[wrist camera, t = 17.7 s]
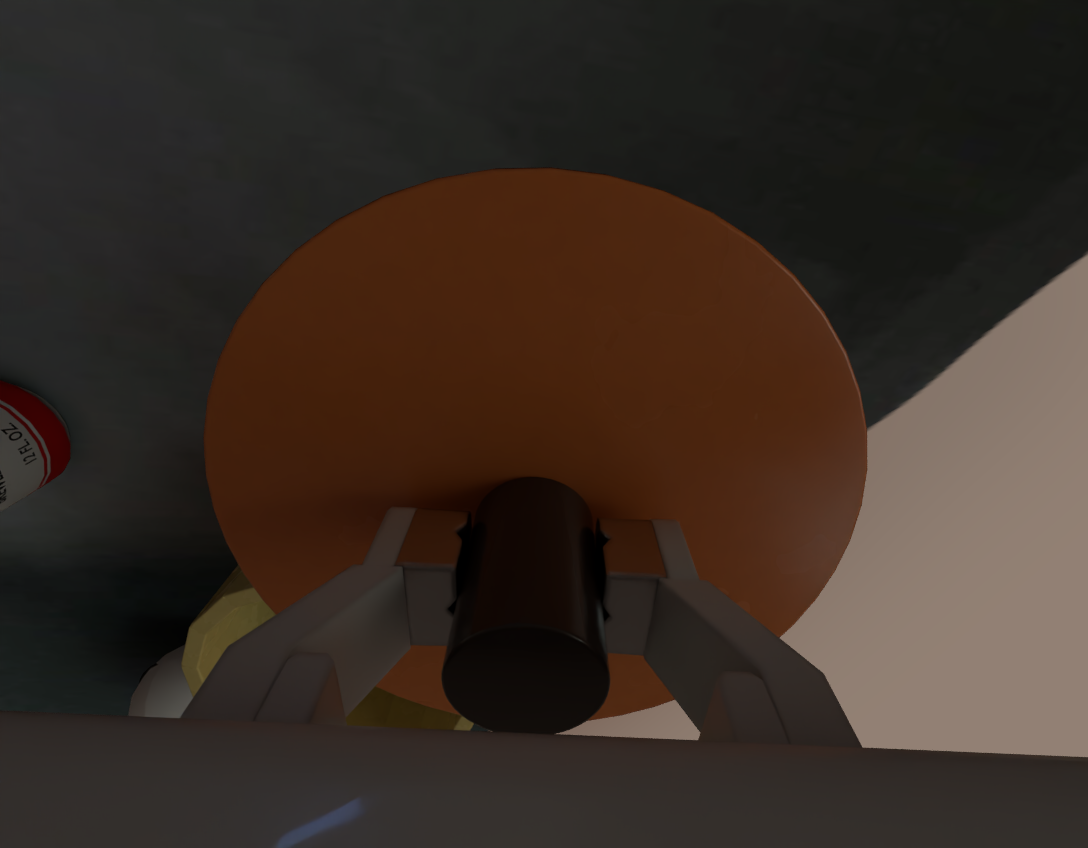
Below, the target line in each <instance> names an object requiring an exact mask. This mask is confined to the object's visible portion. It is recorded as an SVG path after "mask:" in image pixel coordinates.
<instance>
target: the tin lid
mask: <svg viewBox="0 0 1088 848" xmlns="http://www.w3.org/2000/svg"><path fill="white" fill-rule="evenodd" d="M204 453H205V469H206V477H207V482H208V486H209V491H210V495H211V500H212V504H213V509H214V512H215V514H216V517H217V520H218V522H219V525H220V527H221V530H222V533H223V535H224V538H225V540H226V543H227V545H228V547H229V548H230V550H231V552H232V554H233V556H234V557H235V559H236V561H237V563H238V565H239V567H240V568H241V570H242V572H243V574H244V575H245V576H246V578H247V579H248V580H249V582H250V583H251V585H252V586H253V587H254V589H255V590H256V591H257V593H258V594H259V596H260V597H261V598H262V600H263V601H264V602H265V603H266V604H267V605H268V606H269V607H270V608H271V610H272V611H273V612H274V613H275V614H276V615H277V614H278V613H280V612H281V611H283V610H284V609H286V608H287V607H289V606H290V605H292V604H293V603H295V602H297V601H298V600H300V599H301V598H303V597H304V596H306V595H307V594H309V593H310V592H312V591H314V590H315V589H317V588H318V587H320V586H321V585H323V584H324V583H326V582H327V581H329V580H330V579H332V578H334V577H335V576H337V575H338V574H340V573H341V572H343V571H344V570H346V569H347V568H349V567H350V566H352V565H354V564H356V565H362V563H363V561H364V559H365V557H366V555H367V552H368V550H369V548H370V546H371V544H372V542H373V540H374V538H375V536H376V533H377V531H378V529H379V527H380V525H381V523H382V521H383V519H384V517H385V514H386V512H387V511H388V510H389V509H390V508H391V507H411V508H429V509H444V510H458V511H470V512H471V518H472V532H471V537H470V541H469V546H468V551H467V556H466V560H465V565H464V569H463V574H462V579H461V583H460V588H459V593H458V597H457V602H456V606H455V611H454V616H453V620H452V625H451V630H450V634H449V639H448V643H447V646H424V645H410V646H411V648H410V649H409V651H408V652H407V653H406V654H405V655H404V656H403V657H402V658H401V659H400V660H399V661H398V662H397V663H396V664H395V666H394V667H393V668H392V669H391V670H390V671H389V672H388V673H387V674H386V675H385V676H384V677H383V678H382V679H381V681H380V682H379V683H378V684H377V685H376V687H378V688H381V689H383V690H385V691H387V692H389V693H392V694H394V695H396V696H399V697H401V698H404V699H407V700H410V701H413V702H416V703H419V704H422V705H424V706H427V707H431V708H435V709H439V710H443V711H447V712H451V713H454V714H458V715H462V716H463V717H464V718H466V719H467V720H469V721H470V722H472V723H474V724H475V725H478V726H480V727H482V728H484V729H487V730H490V731H493V732H513V733H536V734H556V733H560V732H564V731H566V730H570V729H572V728H574V727H576V726H579V725H580V724H582V723H584V722H586V721H588V720H595V719H602V718H608V717H614V716H620V715H624V714H628V713H632V712H636V711H640V710H644V709H648V708H652V707H655V706H658V705H661V704H664V703H667V702H669V701H672V700H675V698H674V697H673V696H672V695H671V693H670V692H669V691H668V689H667V688H666V687H665V685H664V684H663V683H662V681H661V680H660V679H659V677H658V676H657V675H656V674H655V672H654V671H653V670H652V668H651V667H650V666H649V664H648V663H647V662H646V660H645V659H644V656H642V655H628V654H614V653H608V652H607V643H606V634H605V625H604V616H603V607H602V598H601V589H600V581H599V571H598V562H597V554H596V544H595V528H596V522H597V518H617V519H641V520H650V519H676V520H677V521H678V522H679V524H680V526H681V529H682V532H683V535H684V538H685V540H686V543H687V546H688V549H689V552H690V554H691V557H692V560H693V563H694V566H695V568H696V571H697V574H698V577H699V580H706V581H709V582H710V583H711V584H713V585H714V586H715V587H716V588H718V589H719V590H720V591H721V592H723V593H724V594H725V595H726V596H728V597H729V598H730V599H731V600H732V601H734V602H735V603H736V604H737V605H739V606H740V607H741V608H742V609H744V610H745V611H746V612H747V613H749V614H750V615H751V616H752V617H754V618H755V619H756V620H757V621H759V622H760V623H761V624H762V625H764V626H765V627H766V628H767V629H769V630H770V631H771V632H772V633H774V634H775V635H776V636H777V637H779V638H780V637H781V636H782V635H783V634H784V633H785V632H786V631H787V630H788V629H789V628H791V627H792V626H793V625H794V624H795V622H796V621H797V620H798V619H799V618H800V617H801V616H802V615H803V613H804V612H805V611H806V610H807V609H808V608H809V607H810V605H811V604H812V603H813V602H814V601H815V600H816V598H817V597H818V596H819V594H820V592H821V591H822V590H823V588H824V587H825V585H826V584H827V582H828V581H829V579H830V578H831V576H832V575H833V573H834V572H835V570H836V568H837V565H838V564H839V562H840V560H841V558H842V556H843V554H844V552H845V549H846V548H847V546H848V544H849V542H850V539H851V536H852V533H853V530H854V527H855V524H856V521H857V518H858V515H859V511H860V508H861V505H862V498H863V492H864V486H865V480H866V474H867V428H866V422H865V416H864V411H863V405H862V399H861V393H860V389H859V386H858V383H857V380H856V378H855V375H854V372H853V369H852V366H851V364H850V361H849V358H848V355H847V352H846V350H845V348H844V346H843V345H842V343H841V341H840V339H839V337H838V336H837V334H836V332H835V330H834V328H833V327H832V325H831V323H830V321H829V319H828V318H827V316H826V314H825V312H824V311H823V310H822V308H821V307H820V306H819V305H818V303H817V302H816V301H815V300H814V298H813V297H812V296H811V295H810V293H809V292H808V291H807V290H806V289H805V287H804V286H803V285H802V284H801V282H800V281H799V280H798V279H797V277H796V276H795V275H794V274H793V273H792V272H791V271H790V270H789V269H787V268H786V267H785V266H784V265H783V264H782V263H781V262H780V261H779V260H777V259H776V258H775V257H774V256H773V255H772V254H771V253H770V252H768V251H767V250H766V249H765V248H764V247H763V246H762V245H761V244H760V243H758V242H757V241H756V240H754V239H753V238H751V237H750V236H748V235H747V234H745V233H743V232H742V231H740V230H739V229H737V228H736V227H734V226H733V225H731V224H730V223H728V222H726V221H725V220H723V219H722V218H720V217H719V216H717V215H716V214H714V213H712V212H710V211H708V210H706V209H703V208H701V207H699V206H697V205H694V204H692V203H690V202H688V201H685V200H683V199H681V198H679V197H677V196H674V195H672V194H670V193H668V192H665V191H663V190H660V189H656V188H653V187H649V186H646V185H642V184H639V183H635V182H631V181H628V180H624V179H621V178H617V177H613V176H610V175H606V174H600V173H592V172H584V171H576V170H568V169H560V168H552V167H543V168H496V169H490V170H484V171H478V172H472V173H466V174H460V175H454V176H448V177H442V178H437V179H434V180H430V181H427V182H424V183H421V184H418V185H415V186H412V187H409V188H406V189H403V190H400V191H397V192H394V193H391V194H388V195H385V196H382V197H381V198H379V199H377V200H375V201H373V202H371V203H369V204H367V205H365V206H363V207H361V208H359V209H357V210H355V211H353V212H351V213H349V214H347V215H345V216H343V217H341V218H339V219H337V220H336V221H334V222H333V223H332V224H330V225H329V226H327V227H326V228H325V229H323V230H322V231H321V232H319V233H318V234H316V235H315V236H314V237H312V238H311V239H310V240H308V241H307V242H305V243H304V244H303V245H301V246H300V247H299V248H297V249H296V250H295V251H294V252H293V253H292V254H291V255H290V256H289V257H288V258H287V259H286V260H285V261H284V262H283V263H282V264H281V265H280V266H279V267H278V268H277V269H276V270H275V271H274V272H273V273H272V274H271V275H270V276H269V277H268V278H267V279H266V280H265V281H264V282H263V283H262V285H261V286H260V287H259V289H258V290H257V292H256V293H255V295H254V296H253V297H252V299H251V300H250V302H249V303H248V305H247V306H246V307H245V309H244V310H243V312H242V313H241V315H240V316H239V317H238V319H237V320H236V322H235V325H234V327H233V329H232V331H231V333H230V335H229V337H228V339H227V342H226V344H225V346H224V348H223V350H222V352H221V354H220V357H219V359H218V362H217V366H216V369H215V373H214V377H213V380H212V384H211V388H210V391H209V395H208V399H207V407H206V417H205V427H204Z"/></svg>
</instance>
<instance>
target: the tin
mask: <svg viewBox="0 0 1088 848" xmlns="http://www.w3.org/2000/svg"><path fill="white" fill-rule="evenodd" d="M275 615H276V614H275V613H274V612H273V611H272V610H271V608H270V607H269V606H268V605H267V604H266V603H265V602H264V601H263V600H262V598H261V597H260V596H259V594H258V593H257V591H256V590H255V589H254V587H253V586H252V585H251V583H250V582H249V580H248V579H247V578H246V576H245V575H244V574H243V572H242V570H241V568H240V567H239V565H238V566H237V567H236V568H235V570H234V571H233V572H232V573H231V575H230V576H229V577H228V578H227V580H226V581H225V582H224V583H223V585H222V586H221V587H220V588H219V590H218V591H217V592H216V593H215V595H214V596H213V597H212V598H211V600H210V601H209V602H208V603H207V605H206V606H205V607H204V608H203V610H202V611H201V612H200V613H199V615H198V616H197V617H196V618H195V620H194V621H193V622H192V623H191V625H190V627H189V630H188V635H187V639H186V644H185V648H184V653H183V657H182V662H181V668H182V670H183V673H184V675H185V678H186V681H187V683H188V686H189V688H190V691H191V694H192V696H193V697H194V696H195V694H196V693H197V691H198V690H199V688H200V687H201V685H202V684H203V682H204V681H205V679H206V678H207V676H208V675H209V673H210V672H211V670H212V669H213V667H214V666H215V664H216V663H217V661H218V660H219V658H220V657H221V655H222V654H223V652H224V651H225V649H226V648H227V646H229V645H230V644H232V643H233V642H235V641H237V640H238V639H240V638H241V637H243V636H244V635H246V634H247V633H249V632H250V631H252V630H253V629H255V628H257V627H258V626H260V625H261V624H263V623H264V622H266V621H267V620H269V619H270V618H272V617H273V616H275ZM346 723H347V725H351V726H374V727H397V728H421V729H444V730H467V731H470V729H471V727H472V726H473V724H474V723H472V722H470V721H469V720H467V719H466V718H464V717H463V716H462V715H458V714H454V713H451V712H447V711H443V710H439V709H435V708H431V707H427V706H424V705H422V704H419V703H416V702H413V701H410V700H407V699H404V698H401V697H399V696H396V695H394V694H392V693H389V692H387V691H385V690H383V689H381V688H378V687H376V686H375V687H374V688H373V689H372V690H371V691H370V692H369V693H368V694H367V696H366V697H365V698H364V699H363V700H362V701H361V702H360V703H359V704H358V705H357V706H356V707H355V708H354V709H353V710H352V712H351V713H350V714H349V715H348V716H347V717H346Z"/></svg>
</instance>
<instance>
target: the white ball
mask: <svg viewBox="0 0 1088 848" xmlns="http://www.w3.org/2000/svg"><path fill="white" fill-rule="evenodd" d="M184 648H185V645H183V646H181V647H179V648H177V649H175V650H173V651H171V652H169V653H168V654H166V655H164V656H163V657H162V658H161V659H160V660H159V661H158V662H157V663H156V664H154V665H152V666H151V667H149V668H148V669H147V670H146V671H145V672H144V673H143V675H142V676H141V679H140V682H139V685H138V687H137V689H136V690H135V692H134V694H133V695H132V698H131V704H130V709H129V714H128V716H142V717H165V718H180V717H181V715H182V714H183V712H184V711H185V709H186V708H187V706H188V705H189V703H190V702H191V700H192V699H193V696H192V694H191V691H190V688H189V686H188V683H187V681H186V678H185V675H184V673H183V670H182V668H181V662H182V657H183V653H184Z"/></svg>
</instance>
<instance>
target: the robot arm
mask: <svg viewBox="0 0 1088 848" xmlns="http://www.w3.org/2000/svg"><path fill="white" fill-rule="evenodd" d="M471 532H472V518H471V512H470V511H458V510H444V509H429V508H411V507H391V508H390V509H389V510H388V511H387V512H386V514H385V517H384V519H383V521H382V523H381V525H380V527H379V529H378V531H377V533H376V536H375V538H374V540H373V542H372V544H371V546H370V548H369V550H368V552H367V555H366V557H365V559H364V561H363V563H362V565H356V564H354V565H352V566H350V567H349V568H347V569H346V570H344V571H343V572H341V573H340V574H338V575H337V576H335V577H334V578H332V579H330V580H329V581H327V582H326V583H324V584H323V585H321V586H320V587H318V588H317V589H315V590H314V591H312V592H310V593H309V594H307V595H306V596H304V597H303V598H301V599H300V600H298V601H297V602H295V603H293V604H292V605H290V606H289V607H287V608H286V609H284V610H283V611H281V612H280V613H278V614H277V615H275V616H273V617H272V618H270V619H269V620H267V621H266V622H264V623H263V624H261V625H260V626H258V627H257V628H255V629H253V630H252V631H250V632H249V633H247V634H246V635H244V636H243V637H241V638H240V639H238V640H237V641H235V642H233V643H232V644H230V645H229V646H227V648H226V649H225V651H224V652H223V654H222V655H221V657H220V658H219V660H218V661H217V663H216V664H215V666H214V667H213V669H212V670H211V672H210V673H209V675H208V676H207V678H206V679H205V681H204V682H203V684H202V685H201V687H200V688H199V690H198V691H197V693H196V694H195V696H194V697H193V699H192V700H191V702H190V703H189V705H188V706H187V708H186V709H185V711H184V712H183V714H182V715H181V717H180V718H165V717H142V716H118V715H95V714H72V713H48V712H25V711H2V710H0V848H1088V757H1068V756H1045V755H1021V754H998V753H975V752H951V751H928V750H906V749H882V748H862V746H861V744H860V742H859V740H858V738H857V736H856V734H855V732H854V731H853V729H852V727H851V725H850V723H849V721H848V719H847V717H846V715H845V713H844V711H843V710H842V708H841V706H840V704H839V702H838V700H837V698H836V696H835V695H834V692H833V691H832V689H831V687H830V685H829V683H828V681H827V679H826V677H825V675H824V674H823V673H822V672H821V671H820V670H818V669H817V668H816V667H815V666H814V665H812V664H811V663H810V662H809V661H807V660H806V659H805V658H804V657H802V656H801V655H800V654H798V653H797V652H796V651H795V650H794V649H792V648H791V647H790V646H789V645H787V644H786V643H785V642H784V641H782V640H781V639H780V638H779V637H777V636H776V635H775V634H774V633H772V632H771V631H770V630H769V629H767V628H766V627H765V626H764V625H762V624H761V623H760V622H759V621H757V620H756V619H755V618H754V617H752V616H751V615H750V614H749V613H747V612H746V611H745V610H744V609H742V608H741V607H740V606H739V605H737V604H736V603H735V602H734V601H732V600H731V599H730V598H729V597H728V596H726V595H725V594H724V593H723V592H721V591H720V590H719V589H718V588H716V587H715V586H714V585H713V584H711V583H710V582H709V581H706V580H699V577H698V574H697V571H696V568H695V566H694V563H693V560H692V557H691V554H690V552H689V549H688V546H687V543H686V540H685V538H684V535H683V532H682V529H681V526H680V524H679V522H678V521H677V520H676V519H650V520H641V519H617V518H597V522H596V528H595V544H596V554H597V562H598V571H599V581H600V589H601V598H602V607H603V616H604V625H605V634H606V643H607V652H608V653H614V654H628V655H642V656H644V659H645V660H646V662H647V663H648V664H649V666H650V667H651V668H652V670H653V671H654V672H655V674H656V675H657V676H658V677H659V679H660V680H661V681H662V683H663V684H664V685H665V687H666V688H667V689H668V691H669V692H670V693H671V695H672V696H673V697H674V698H675V700H676V701H677V702H678V703H679V705H680V706H681V708H682V709H683V710H684V711H685V713H686V714H687V715H688V717H689V718H690V719H691V721H692V722H693V723H694V725H695V726H696V727H697V729H698V730H699V731H700V732H701V733H700V737H699V740H675V739H652V738H651V739H650V738H628V737H627V738H626V737H605V736H582V735H560V734H536V733H513V732H490V731H467V730H444V729H421V728H397V727H374V726H351V725H347V723H346V717H347V716H348V715H349V714H350V713H351V712H352V710H353V709H354V708H355V707H356V706H357V705H358V704H359V703H360V702H361V701H362V700H363V699H364V698H365V697H366V696H367V694H368V693H369V692H370V691H371V690H372V689H373V688H374V687H375V686H376V685H377V684H378V683H379V682H380V681H381V679H382V678H383V677H384V676H385V675H386V674H387V673H388V672H389V671H390V670H391V669H392V668H393V667H394V666H395V664H396V663H397V662H398V661H399V660H400V659H401V658H402V657H403V656H404V655H405V654H406V653H407V652H408V651H409V649H410V648H411V646H410V645H424V646H447V643H448V639H449V634H450V630H451V625H452V620H453V616H454V611H455V606H456V602H457V597H458V593H459V588H460V583H461V579H462V574H463V569H464V565H465V560H466V556H467V551H468V546H469V541H470V537H471Z"/></svg>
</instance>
